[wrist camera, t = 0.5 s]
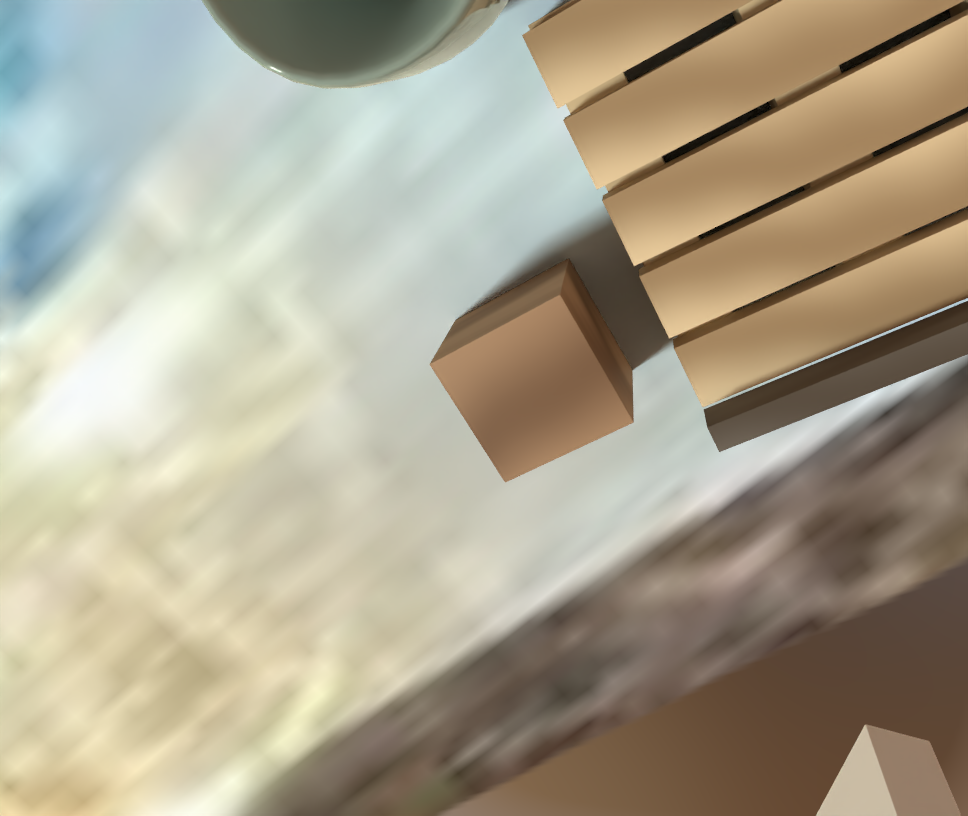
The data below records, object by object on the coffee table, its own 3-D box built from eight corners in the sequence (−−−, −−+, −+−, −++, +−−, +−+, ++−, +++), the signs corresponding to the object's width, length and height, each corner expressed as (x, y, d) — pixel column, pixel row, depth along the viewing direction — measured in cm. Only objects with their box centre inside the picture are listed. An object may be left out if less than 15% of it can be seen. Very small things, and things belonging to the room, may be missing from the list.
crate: (455, 319, 34) (429, 364, 29) (569, 257, 32) (559, 294, 28) (520, 424, 35) (505, 482, 31) (632, 369, 34) (633, 422, 29)
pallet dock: (529, 28, 29) (513, 28, 25) (961, -228, 25) (1027, -278, 21) (707, 400, 34) (719, 451, 29) (1104, 236, 29) (1182, 269, 25)
